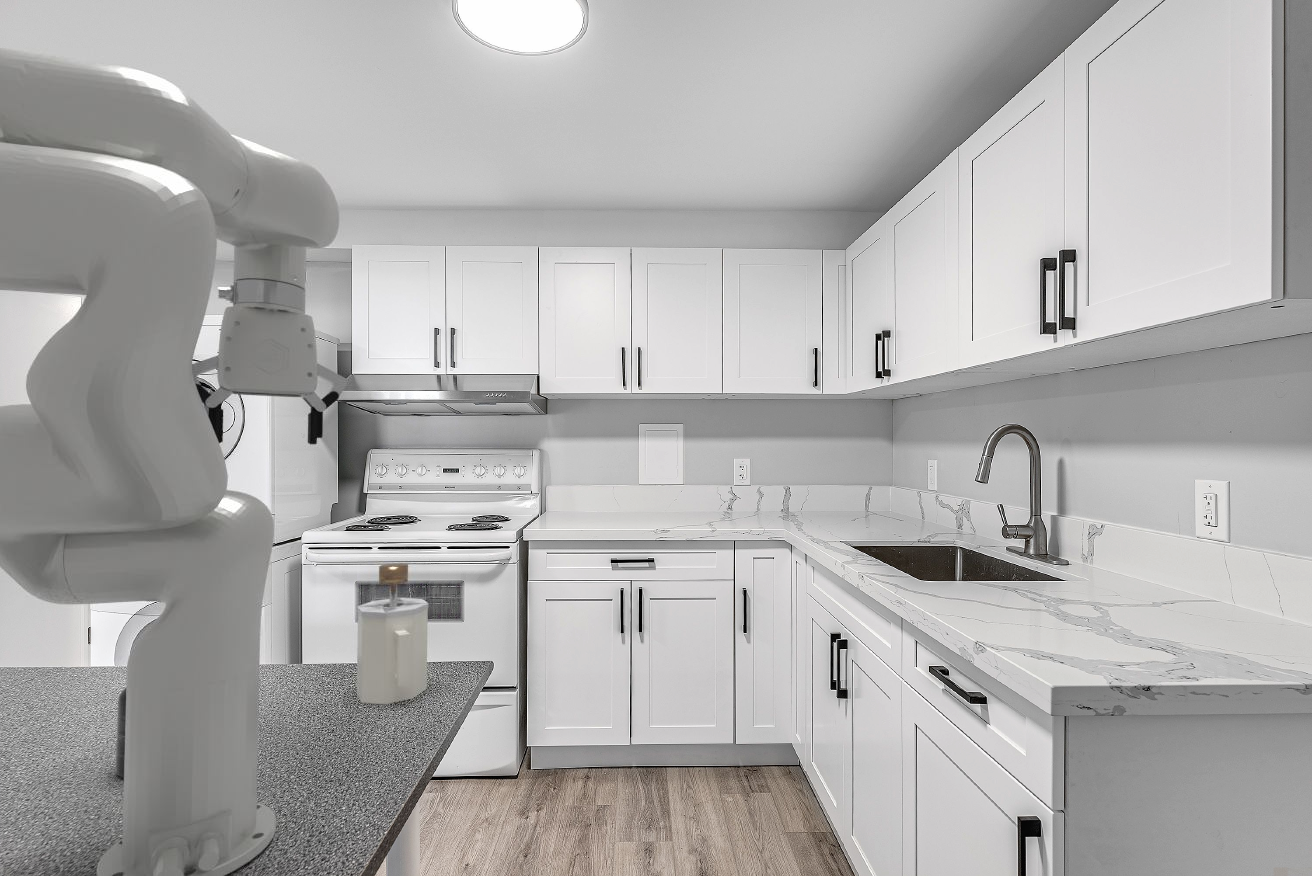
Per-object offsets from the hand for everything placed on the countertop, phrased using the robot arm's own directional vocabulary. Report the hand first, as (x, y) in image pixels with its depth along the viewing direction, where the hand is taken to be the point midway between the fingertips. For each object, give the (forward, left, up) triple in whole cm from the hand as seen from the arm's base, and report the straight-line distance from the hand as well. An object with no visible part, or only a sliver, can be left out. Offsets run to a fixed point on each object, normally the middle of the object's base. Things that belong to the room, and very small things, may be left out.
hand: (267, 443), depth 77 cm
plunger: (+11, -17, -35) cm, 41 cm away
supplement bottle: (+2, +10, -36) cm, 38 cm away
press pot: (+10, -17, -36) cm, 41 cm away
